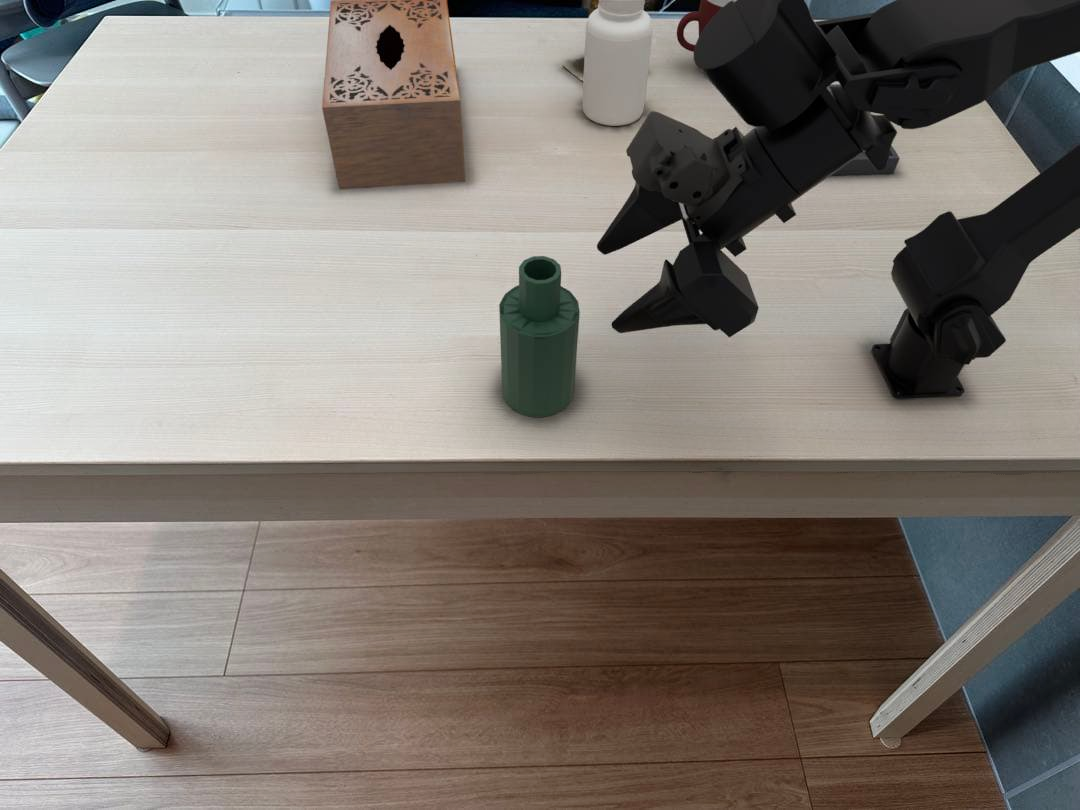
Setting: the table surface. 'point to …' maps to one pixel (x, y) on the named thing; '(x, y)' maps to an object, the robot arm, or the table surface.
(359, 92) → the tissue box cover
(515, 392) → the bottle
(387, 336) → the table surface
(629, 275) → the table surface
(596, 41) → the pill bottle
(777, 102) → the robot arm
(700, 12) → the mug
